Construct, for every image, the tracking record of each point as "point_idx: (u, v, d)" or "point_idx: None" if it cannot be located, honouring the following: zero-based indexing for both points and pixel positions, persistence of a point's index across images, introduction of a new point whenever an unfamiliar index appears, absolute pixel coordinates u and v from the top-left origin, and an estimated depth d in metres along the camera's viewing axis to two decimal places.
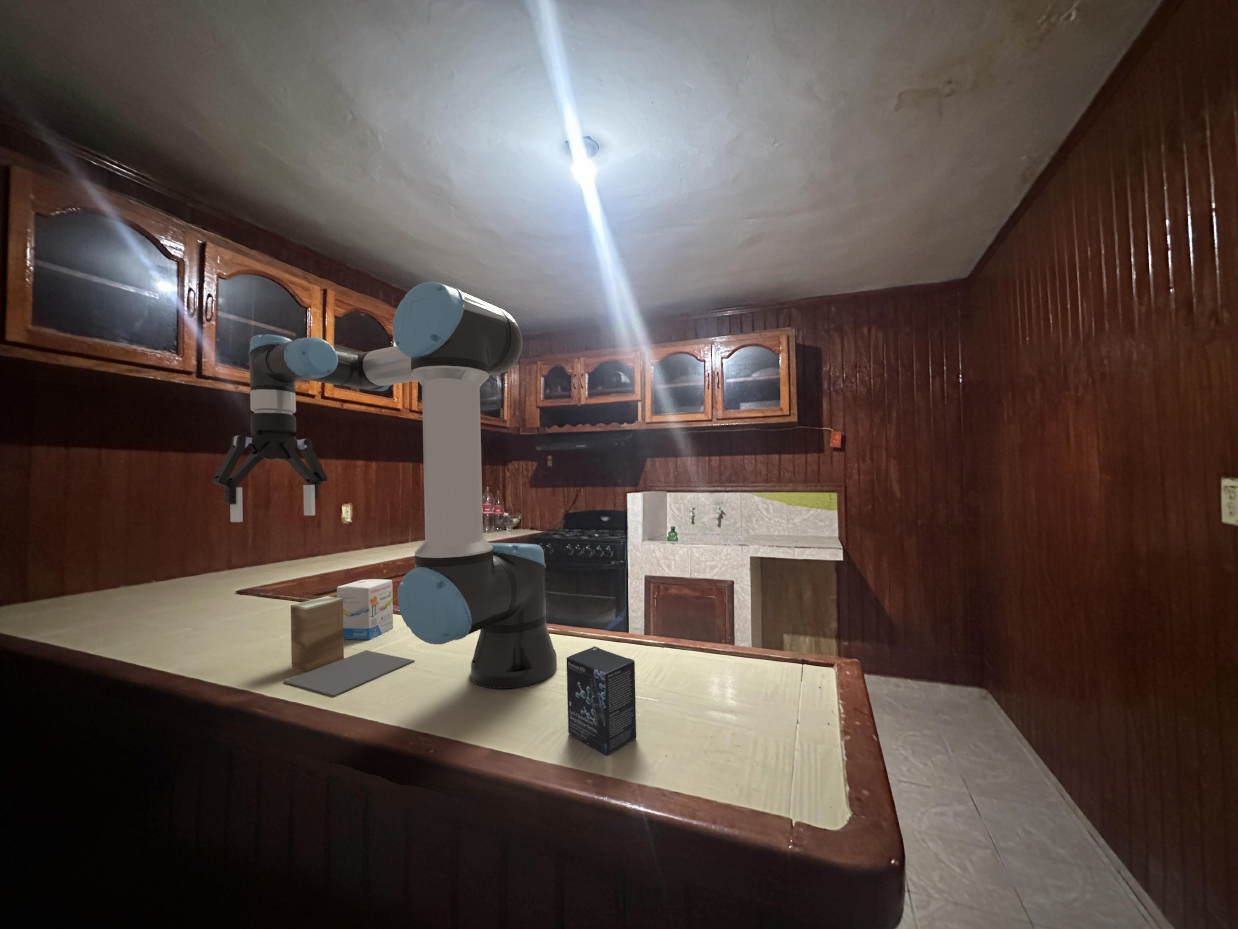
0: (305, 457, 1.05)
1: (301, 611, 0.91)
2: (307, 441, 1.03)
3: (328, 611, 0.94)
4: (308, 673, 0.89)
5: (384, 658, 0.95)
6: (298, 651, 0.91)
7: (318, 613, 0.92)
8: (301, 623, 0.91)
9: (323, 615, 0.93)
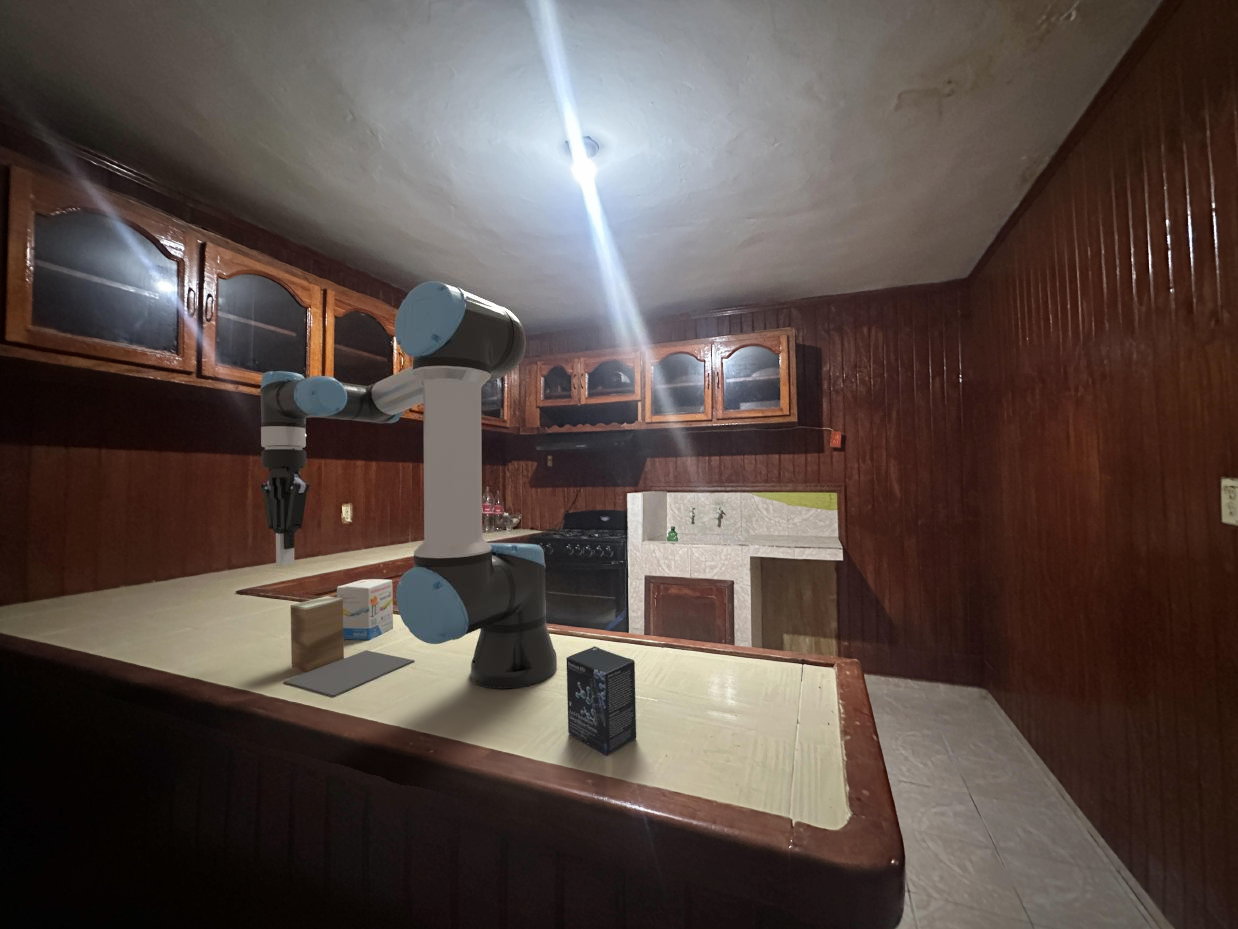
0: None
1: (301, 611, 0.91)
2: (294, 485, 0.96)
3: (328, 611, 0.94)
4: (308, 673, 0.89)
5: (384, 658, 0.95)
6: (298, 651, 0.91)
7: (318, 613, 0.92)
8: (301, 623, 0.91)
9: (323, 615, 0.93)
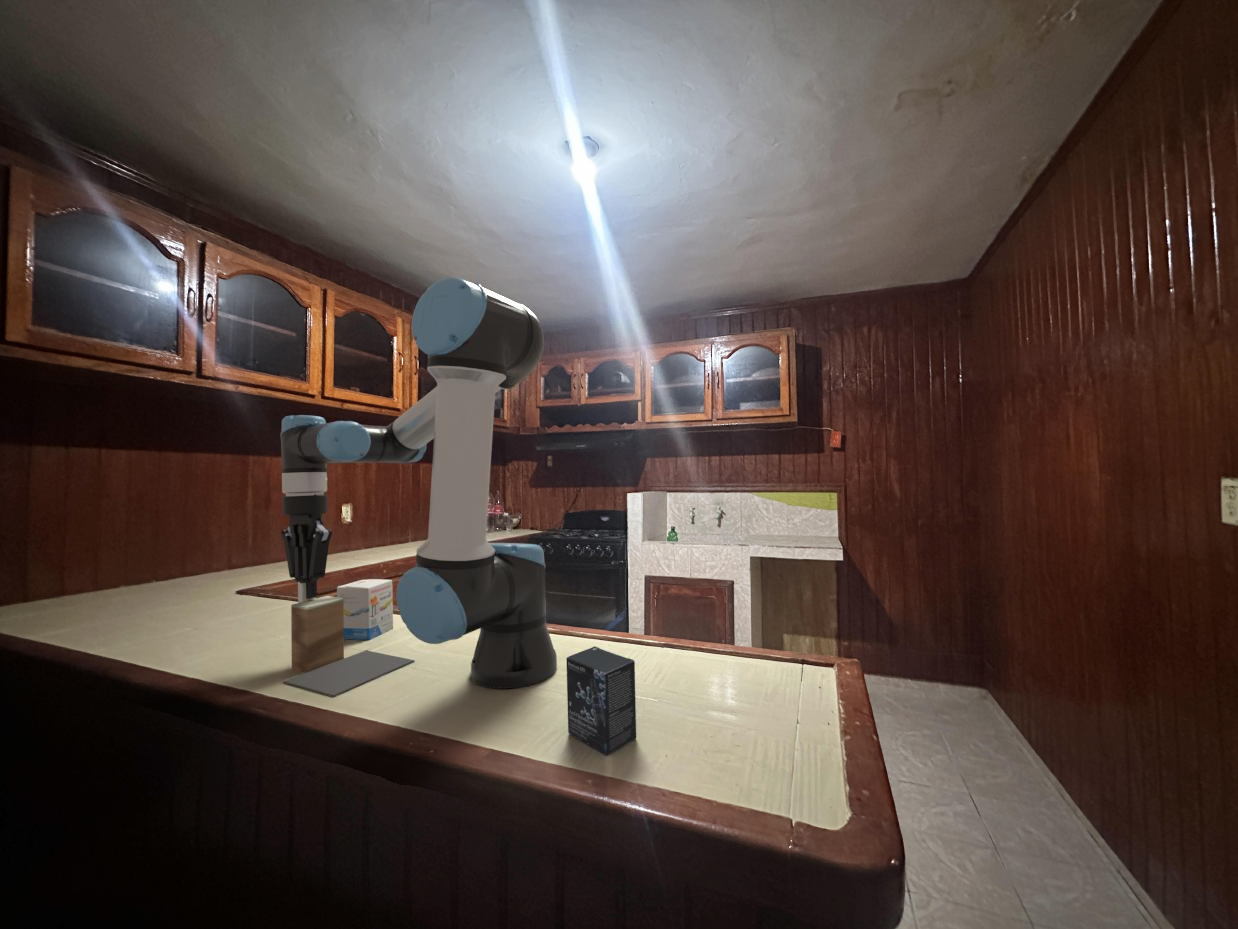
0: None
1: (301, 611, 0.91)
2: (317, 533, 0.92)
3: (329, 611, 0.93)
4: (308, 673, 0.89)
5: (384, 658, 0.95)
6: (298, 651, 0.91)
7: (319, 613, 0.92)
8: (302, 623, 0.91)
9: (324, 615, 0.93)
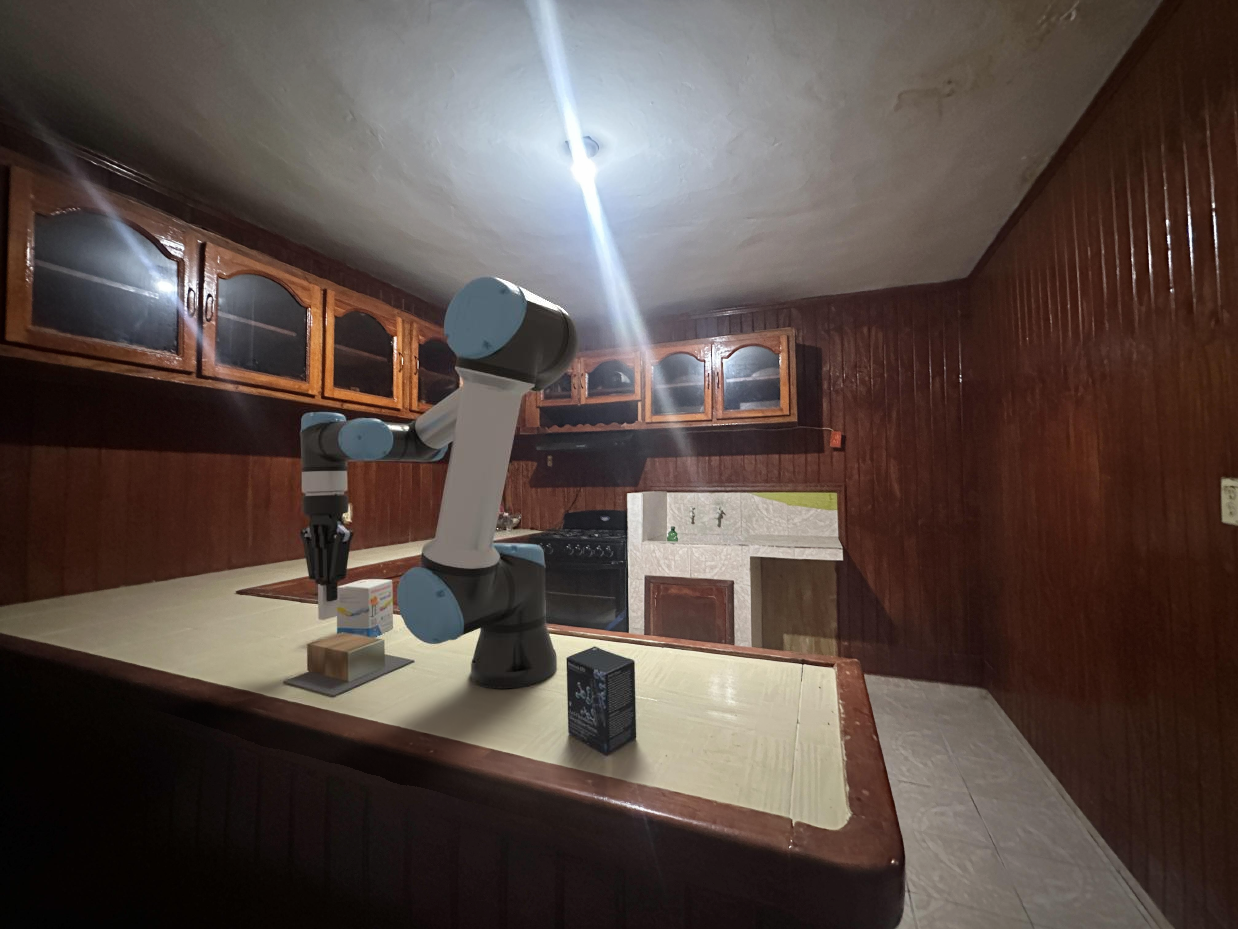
0: None
1: (346, 670, 0.85)
2: (338, 533, 0.89)
3: None
4: (308, 673, 0.89)
5: None
6: (319, 659, 0.88)
7: None
8: (338, 669, 0.86)
9: None
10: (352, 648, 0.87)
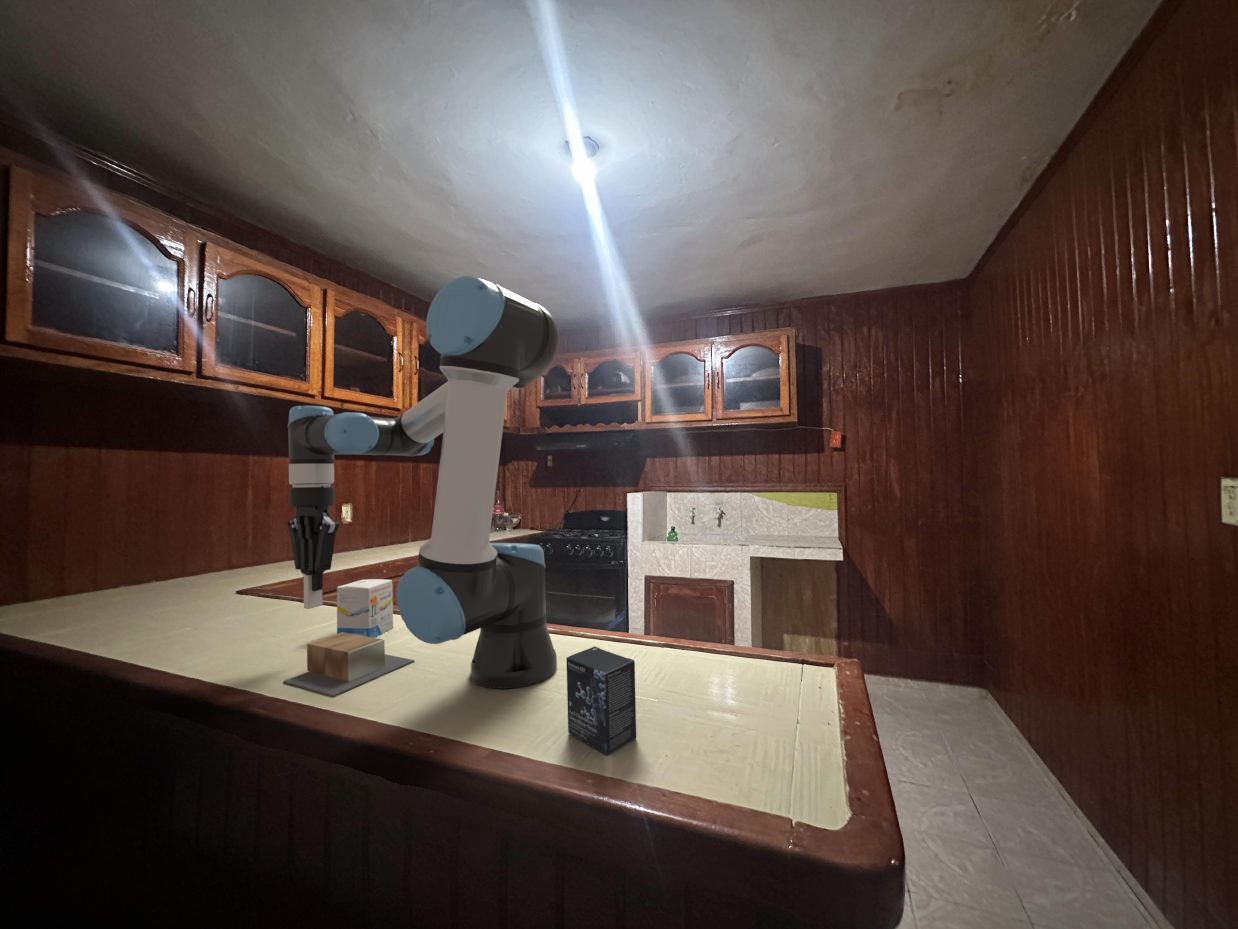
0: None
1: (346, 670, 0.85)
2: (323, 525, 0.91)
3: None
4: (308, 673, 0.89)
5: None
6: (319, 659, 0.88)
7: None
8: (338, 669, 0.86)
9: None
10: (352, 648, 0.87)
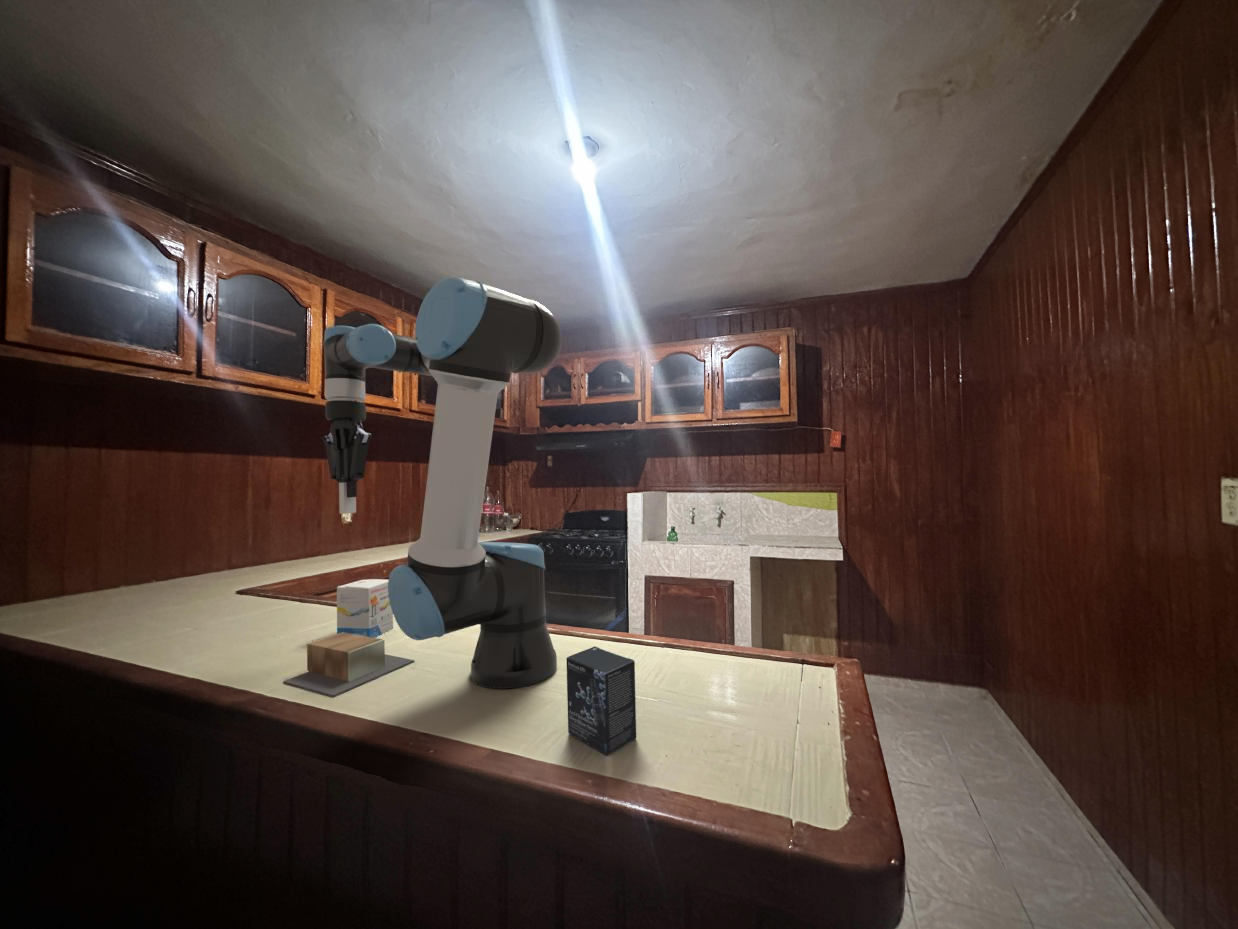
0: None
1: (346, 670, 0.85)
2: (358, 434, 0.99)
3: None
4: (308, 673, 0.89)
5: None
6: (319, 659, 0.88)
7: None
8: (338, 669, 0.86)
9: None
10: (352, 648, 0.87)
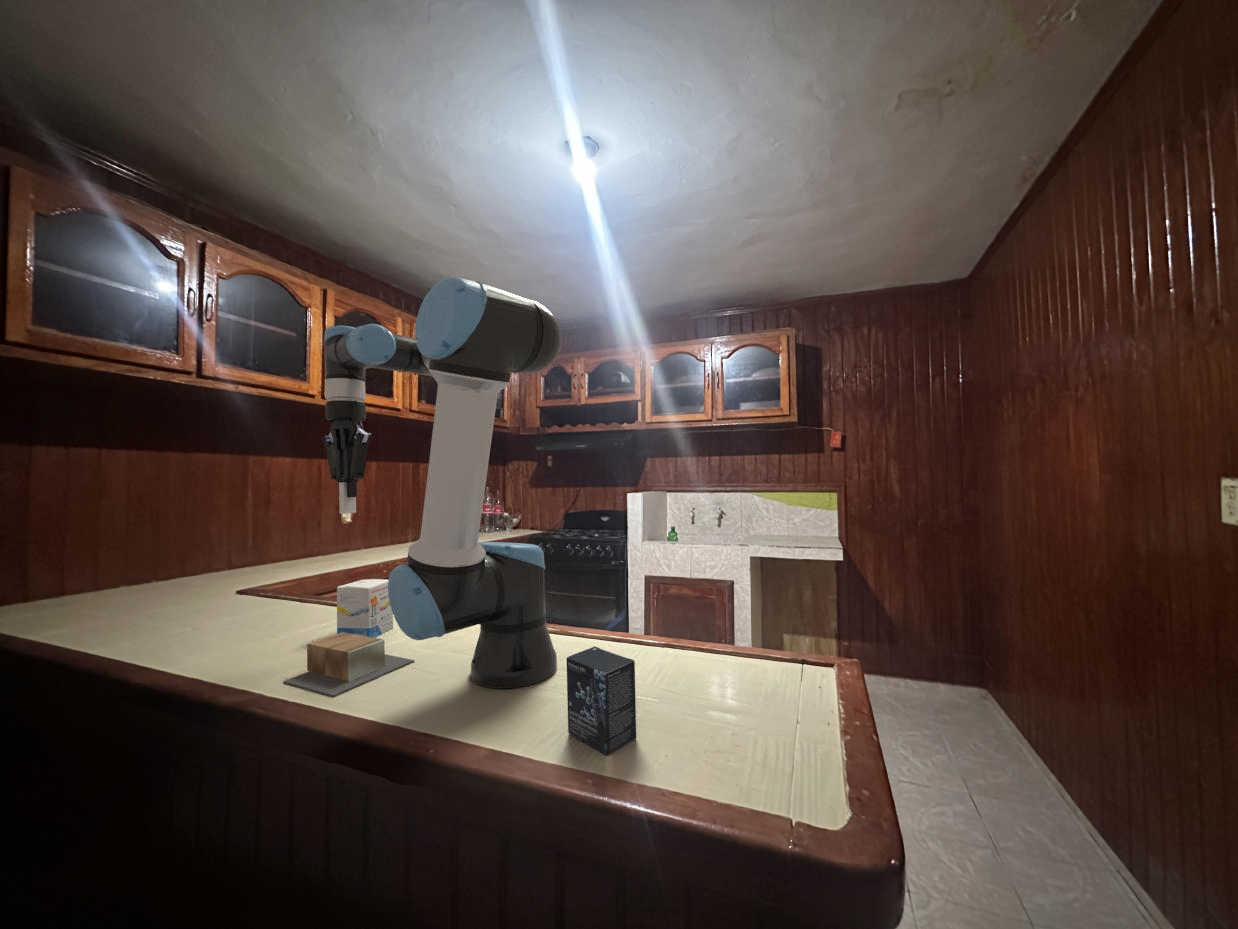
0: None
1: (346, 670, 0.85)
2: (358, 434, 0.99)
3: None
4: (308, 673, 0.89)
5: None
6: (319, 659, 0.88)
7: None
8: (338, 669, 0.86)
9: None
10: (352, 648, 0.87)
